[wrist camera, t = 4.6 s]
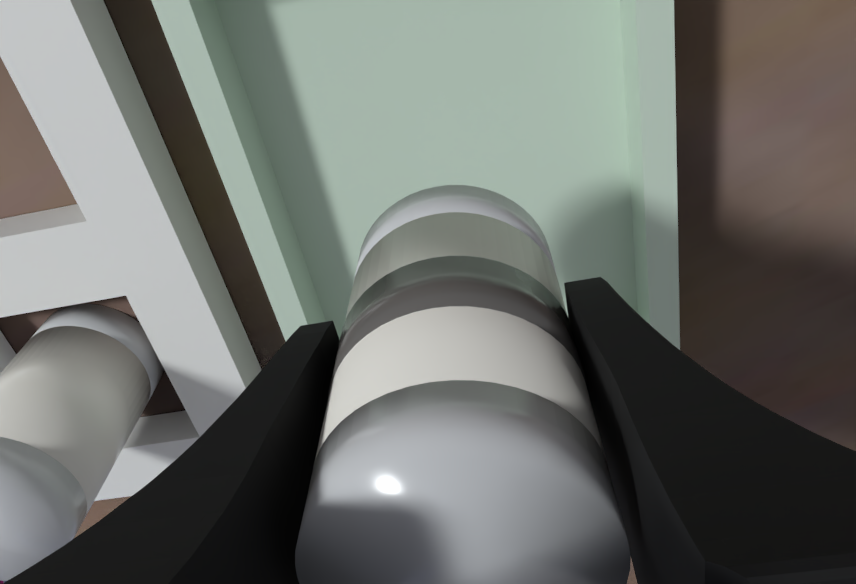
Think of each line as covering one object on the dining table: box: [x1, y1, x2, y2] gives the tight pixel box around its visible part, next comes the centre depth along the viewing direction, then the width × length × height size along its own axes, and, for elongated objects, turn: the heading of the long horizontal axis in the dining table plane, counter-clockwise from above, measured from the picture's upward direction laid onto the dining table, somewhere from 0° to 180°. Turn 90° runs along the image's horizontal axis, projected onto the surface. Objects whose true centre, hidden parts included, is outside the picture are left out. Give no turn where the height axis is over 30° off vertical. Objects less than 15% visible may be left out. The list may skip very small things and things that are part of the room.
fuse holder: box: [0, 0, 262, 501], centre depth 20 cm, size 18×10×2 cm, turn 12°
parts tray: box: [151, 0, 680, 350], centre depth 18 cm, size 14×11×2 cm
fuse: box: [0, 304, 164, 581], centre depth 20 cm, size 4×4×7 cm
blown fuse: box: [295, 185, 630, 584], centre depth 11 cm, size 4×4×7 cm
